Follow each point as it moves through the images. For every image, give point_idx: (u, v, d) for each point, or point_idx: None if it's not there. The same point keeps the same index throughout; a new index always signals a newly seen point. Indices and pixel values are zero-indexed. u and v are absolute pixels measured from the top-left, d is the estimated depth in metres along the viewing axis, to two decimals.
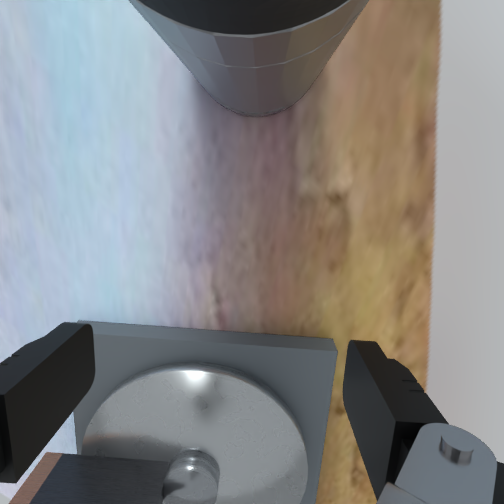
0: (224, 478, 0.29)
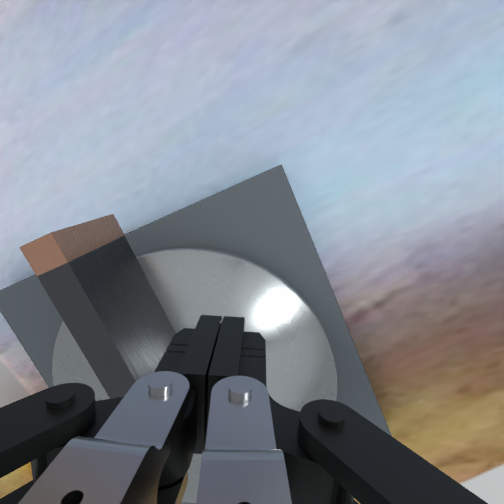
0: None
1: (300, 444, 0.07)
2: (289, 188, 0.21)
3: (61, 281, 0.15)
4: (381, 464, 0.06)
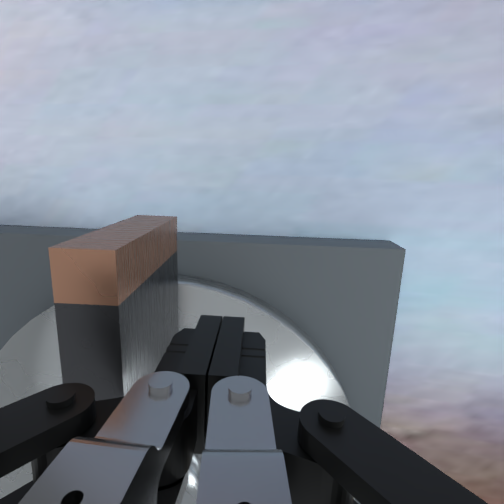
0: None
1: (300, 444, 0.07)
2: (399, 280, 0.16)
3: (91, 328, 0.09)
4: (381, 464, 0.06)
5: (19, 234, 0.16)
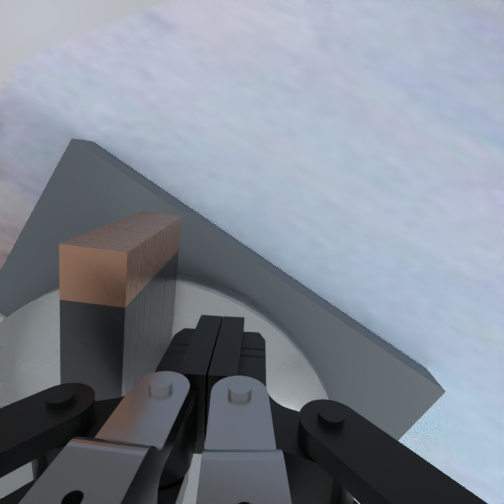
0: None
1: (300, 444, 0.07)
2: (424, 410, 0.18)
3: (95, 327, 0.09)
4: (381, 464, 0.06)
5: (144, 188, 0.16)
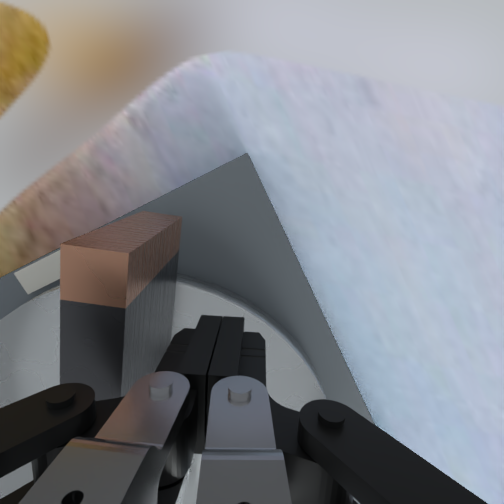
0: None
1: (300, 444, 0.07)
2: None
3: (95, 327, 0.09)
4: (381, 464, 0.06)
5: (281, 228, 0.16)
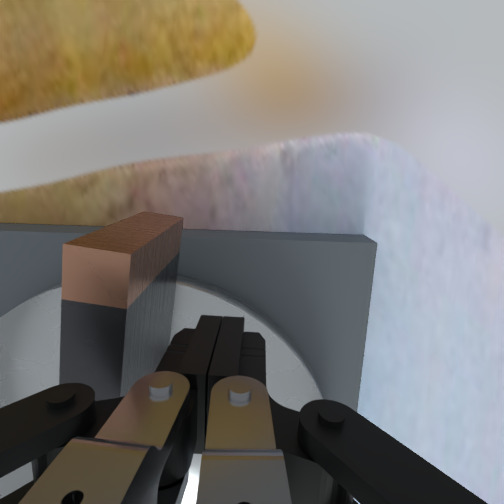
0: None
1: (300, 444, 0.07)
2: None
3: (96, 328, 0.09)
4: (381, 464, 0.06)
5: (367, 316, 0.17)
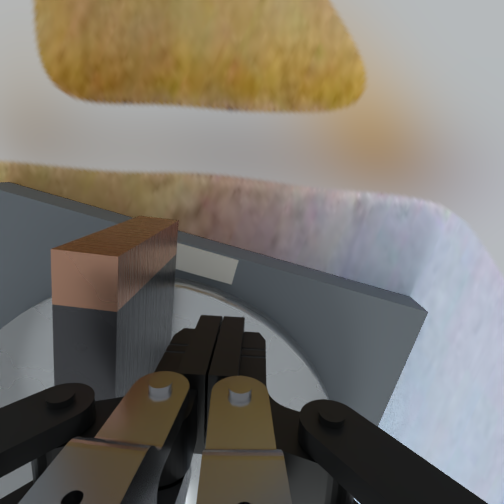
0: None
1: (300, 444, 0.07)
2: None
3: (88, 332, 0.09)
4: (381, 464, 0.06)
5: (398, 377, 0.18)
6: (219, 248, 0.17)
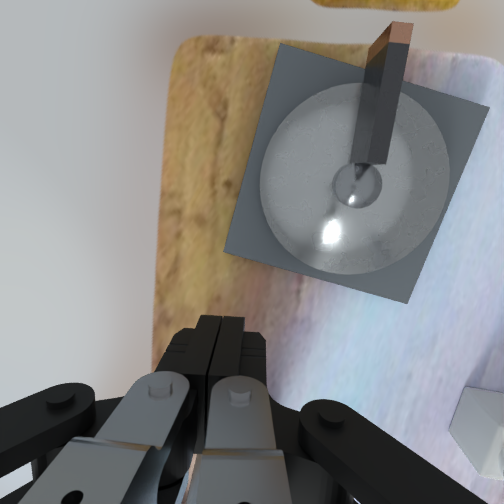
0: (344, 209, 0.35)
1: (300, 444, 0.07)
2: (395, 299, 0.40)
3: (398, 52, 0.27)
4: (381, 464, 0.06)
5: (473, 144, 0.35)
6: None
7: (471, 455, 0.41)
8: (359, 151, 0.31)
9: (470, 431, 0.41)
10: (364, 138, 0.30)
